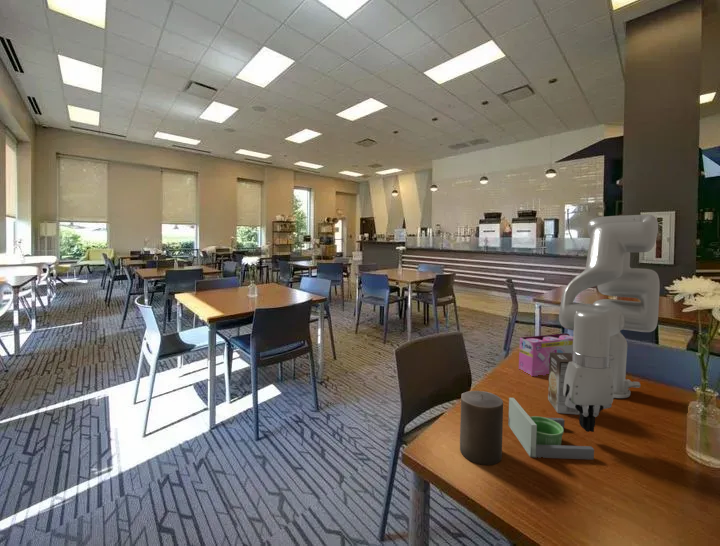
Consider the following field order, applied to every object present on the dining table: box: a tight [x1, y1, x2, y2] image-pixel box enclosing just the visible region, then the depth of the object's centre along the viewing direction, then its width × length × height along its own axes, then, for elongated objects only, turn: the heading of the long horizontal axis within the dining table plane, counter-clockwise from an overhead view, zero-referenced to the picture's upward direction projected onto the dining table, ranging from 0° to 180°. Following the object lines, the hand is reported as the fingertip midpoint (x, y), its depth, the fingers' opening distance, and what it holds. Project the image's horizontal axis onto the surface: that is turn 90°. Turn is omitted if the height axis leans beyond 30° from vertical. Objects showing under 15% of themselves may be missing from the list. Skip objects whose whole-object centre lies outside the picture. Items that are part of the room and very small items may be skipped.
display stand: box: [508, 397, 595, 460], centre depth 87 cm, size 14×14×8 cm
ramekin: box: [529, 415, 565, 445], centre depth 87 cm, size 9×9×4 cm
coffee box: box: [547, 352, 580, 416], centre depth 104 cm, size 9×6×16 cm
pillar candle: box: [459, 390, 504, 466], centre depth 82 cm, size 10×10×15 cm
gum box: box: [518, 333, 573, 377], centre depth 135 cm, size 24×8×14 cm, turn 104°
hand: (586, 428), depth 87 cm, fingers closed
